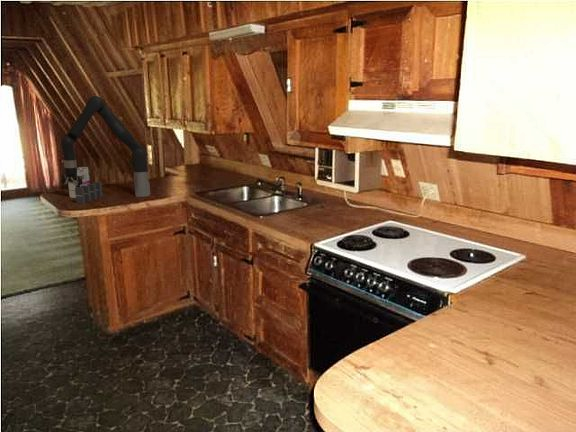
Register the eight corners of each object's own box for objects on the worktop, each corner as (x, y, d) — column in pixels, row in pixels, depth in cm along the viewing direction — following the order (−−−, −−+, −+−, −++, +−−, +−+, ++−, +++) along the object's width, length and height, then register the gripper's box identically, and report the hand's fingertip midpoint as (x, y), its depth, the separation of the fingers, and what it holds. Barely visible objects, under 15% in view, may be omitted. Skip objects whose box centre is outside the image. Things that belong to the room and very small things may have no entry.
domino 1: (78, 202, 298) (77, 187, 295) (85, 202, 296) (83, 187, 294) (76, 202, 296) (74, 187, 293) (83, 203, 294) (81, 188, 292)
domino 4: (96, 196, 314) (95, 181, 312) (102, 196, 313) (101, 182, 310) (94, 196, 312) (93, 182, 310) (100, 197, 311) (99, 183, 308)
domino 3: (90, 198, 309) (89, 183, 306) (97, 198, 308) (95, 184, 305) (88, 198, 307) (87, 184, 304) (95, 199, 306) (93, 184, 303)
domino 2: (84, 200, 303) (83, 185, 300) (91, 200, 302) (89, 185, 299) (82, 200, 301) (81, 186, 298) (89, 201, 300) (87, 186, 297)
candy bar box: (87, 188, 337) (85, 166, 332) (91, 189, 334) (88, 167, 329) (72, 190, 328) (70, 168, 324) (76, 191, 325) (74, 169, 321)
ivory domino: (72, 196, 311) (70, 182, 309) (78, 197, 310) (76, 182, 308) (69, 197, 310) (68, 182, 307) (76, 197, 308) (74, 183, 306)
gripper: (83, 166, 306) (85, 190, 310) (65, 165, 309) (68, 188, 314) (75, 168, 299) (78, 192, 303) (57, 166, 302) (60, 190, 307)
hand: (73, 190), depth 309 cm, fingers open, 8 cm apart
